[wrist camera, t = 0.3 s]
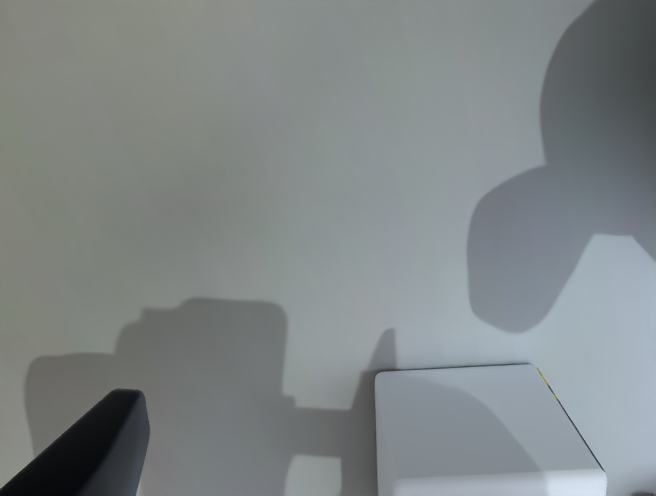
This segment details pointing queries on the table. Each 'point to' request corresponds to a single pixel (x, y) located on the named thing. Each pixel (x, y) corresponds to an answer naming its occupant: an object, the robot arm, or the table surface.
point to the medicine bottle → (479, 435)
